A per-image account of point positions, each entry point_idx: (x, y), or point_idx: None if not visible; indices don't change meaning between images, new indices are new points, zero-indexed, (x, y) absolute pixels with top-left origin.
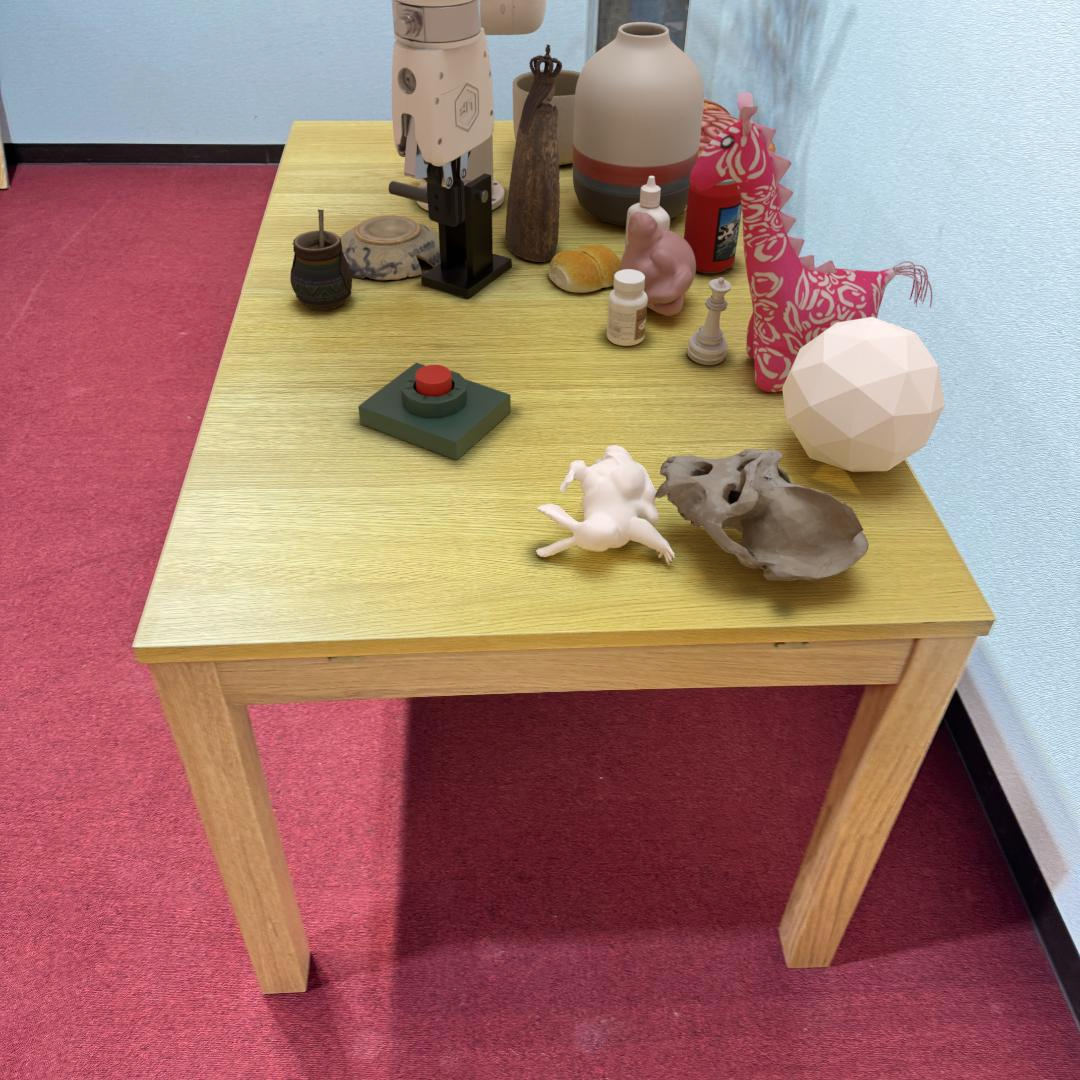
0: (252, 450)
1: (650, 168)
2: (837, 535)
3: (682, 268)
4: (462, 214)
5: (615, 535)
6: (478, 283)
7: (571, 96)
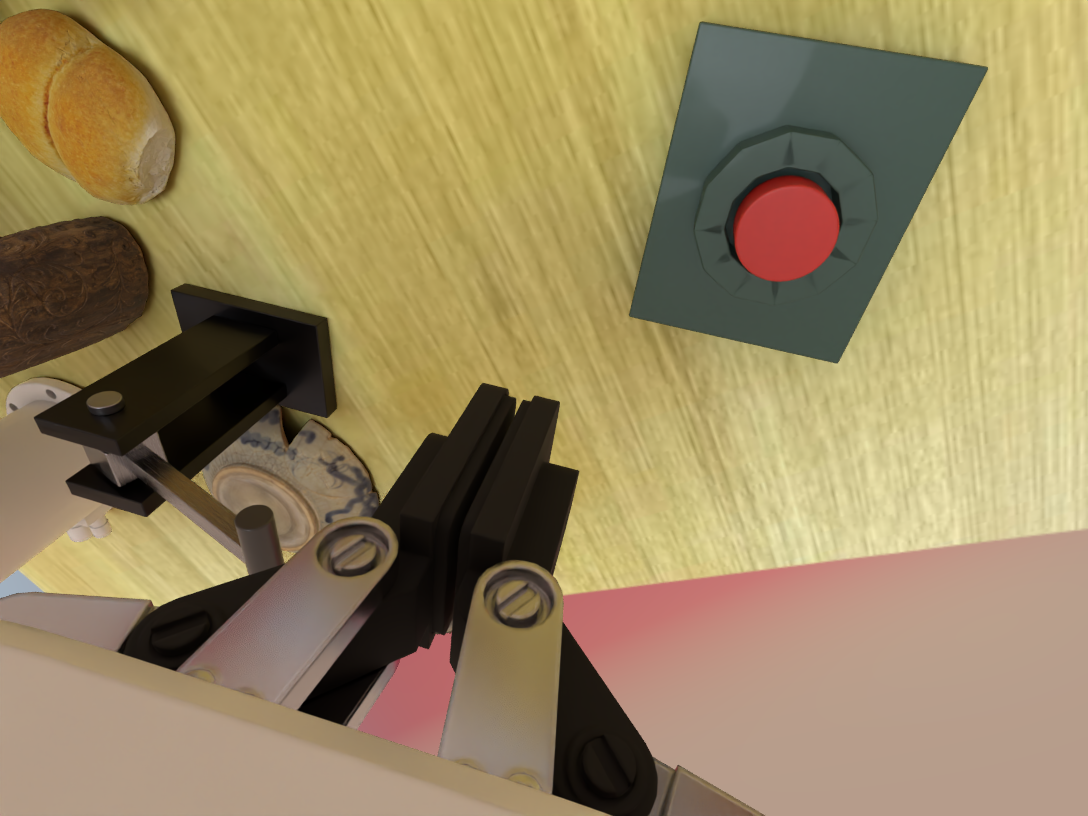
0: (954, 481)
1: None
2: None
3: None
4: (493, 404)
5: None
6: (282, 316)
7: None
